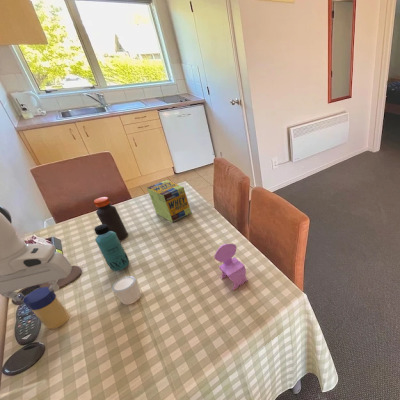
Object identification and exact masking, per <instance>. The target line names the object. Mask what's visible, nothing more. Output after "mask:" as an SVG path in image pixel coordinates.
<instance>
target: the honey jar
mask: <svg viewBox="0 0 400 400" xmlns="http://www.w3.org/2000/svg"><path fill="white" fill-rule="evenodd" d="M68 311H69V310H67V309H66V307H65V306H64V304H63V303H62V302H61V301H60V300H59V298H58V297H57V296H56V298H55V299H54V300H53V301H52V302H51V303H50V304H49V305H47V306H45V307H43V308H41V309H37V310H31V312H33V314H34V315H35V317H36V318H37V319H38V320H39V321H40V322H41V323H42V325H44V327H45V328H46V329H47V330H54V329H57V328H59V327H61V326H63V325H65V324H66V323H67V321H69V320H70V318H71V314H70V313H69V312H68Z"/></svg>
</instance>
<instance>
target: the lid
mask: <svg viewBox="0 0 400 400" xmlns="http://www.w3.org/2000/svg"><path fill="white" fill-rule="evenodd" d="M48 289H49V287H42V288H40V287H39V288H36V289H34V290H33V291H31V292H30V293H27V295H26V296H24V298H23V300H22V301H23V304H25V307H27V308H28V309H29V310H30V311H32V310H37V309H41V308H43V307H45V306H47V305H49V304H50V303H51V302H52V301H53V300H54V299H55V298H56V297H57V295H56V292H50V291H49V290H48Z"/></svg>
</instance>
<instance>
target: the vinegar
mask: <svg viewBox="0 0 400 400" xmlns="http://www.w3.org/2000/svg"><path fill="white" fill-rule="evenodd" d="M110 201H111V200H110V199H109V197H107V196H102V197H101V196H100V197H98V198H95V199H94V200H93V203H94V206H95V207H96V208H97V209H96V211H95V213H96V215H97V217H98V219H99V221H100V224H101V225H102V224H106V225H108V227H109V228H110V231H112V232H115V233H116V235H117V237H118V239H119V241H120V242H122V241H123V240H125V239H127V238H128V236H129V233H128V231H127V229H126V226H125V225H124V222H123V221H122V218H121V217H120V214H119V212H118V210H117V208H116V206H115V205H112V204H111V202H110Z"/></svg>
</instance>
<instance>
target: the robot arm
mask: <svg viewBox="0 0 400 400" xmlns="http://www.w3.org/2000/svg"><path fill="white" fill-rule="evenodd" d="M12 223H13V222H12V216H11V213H10V212H9V210H8V209H7V208H5V207H4V206H2V205H0V295H1V297H4V298H8V299H11V300H12V301H13V302H14V303H17V302H21V301H23V300H24V298H25V294H24V293H22V292H18V290H22V289H25V288H26V289H27V288H29V287H34V286H38V285H39V286H40V284H43V283H47V282H48V283H49V284H52V285H50V287H49V289H48V290H49V291H50V292H54V293H56V292H58V291H59V289H60V288H59V286H58V284H57V282H58V280H59V279H63V278H66V277H68V275H69V274H70V272H71V270H72V266H73V265H72V264H71V263H70V261H69V260H68V259H67V258H66V257H65V255H64V254H62V253H61V252H59V251H56V250H57V249H56V246H55V245H54V244H51V243H44V244H43V243H42V244H41V243H40V244H39V243H26V242H25V240H23V239H22V238H20V237H19V236H18V234H17V230H16V228H15V227H14V226H13V224H12ZM16 291H17V292H16Z"/></svg>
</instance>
